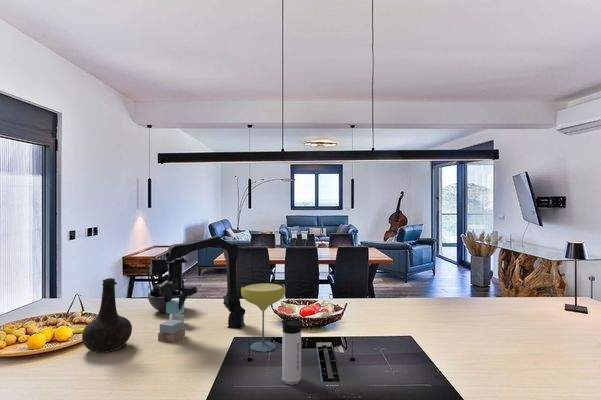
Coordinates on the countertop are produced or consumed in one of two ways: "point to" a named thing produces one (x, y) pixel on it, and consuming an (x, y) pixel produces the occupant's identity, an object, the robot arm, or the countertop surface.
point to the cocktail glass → (263, 304)
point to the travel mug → (291, 352)
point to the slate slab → (171, 326)
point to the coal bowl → (157, 299)
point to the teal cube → (173, 307)
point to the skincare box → (178, 316)
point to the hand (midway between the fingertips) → (174, 309)
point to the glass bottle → (107, 324)
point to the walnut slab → (171, 336)
